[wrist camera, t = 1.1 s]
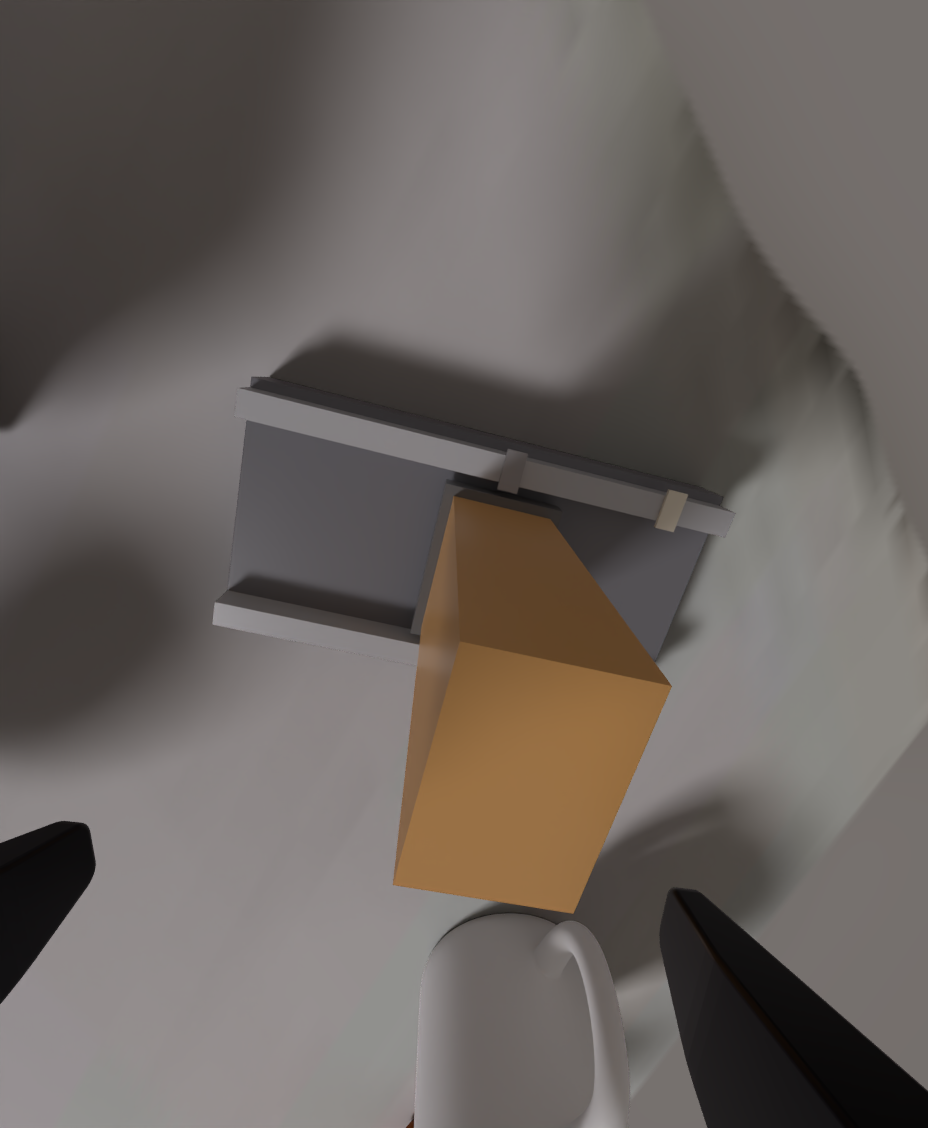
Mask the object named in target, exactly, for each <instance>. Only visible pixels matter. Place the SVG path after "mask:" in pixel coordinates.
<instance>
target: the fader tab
mask: <svg viewBox="0 0 928 1128" xmlns="http://www.w3.org/2000/svg"><path fill="white" fill-rule="evenodd" d="M562 513H563V512H562V510H561V509H560V508H559V507H558V506H556V505H552V504H548V503H543V502H539V501H535V500H531V499H527V498H523V497H519V496H515V495H511V494H507V493H502V492H498V491H494V490H490V489H486V488H482V487H478V486H474V485H470V484H466V483H461V482H457V481H453V480H449V479H446V482H445V486H444V491H443V495H442V499H441V503H440V507H439V511H438V516H437V520H436V524H435V528H434V532H433V536H432V541H431V545H430V549H429V553H428V557H427V562H426V566H425V570H424V574H423V578H422V582H421V587H420V591H419V595H418V599H417V603H416V607H415V612H414V616H413V620H412V625H411V632H410V633H412V634H417V635H420V644H419V653H418V662H417V671H416V680H415V689H414V698H413V707H412V716H411V725H410V735H409V744H408V753H407V762H406V771H405V780H404V789H403V798H402V807H401V816H400V825H399V834H398V843H397V852H396V861H395V870H394V879H393V885H396V886H402V887H409V888H415V889H421V890H428V891H434V892H440V893H446V894H453V895H459V896H465V897H472V898H478V899H484V900H490V901H497V902H503V903H509V904H516V905H522V906H528V907H534V908H541V909H547V910H553V911H559V912H566V913H572V914H574V911H575V909H576V907H577V904H578V902H579V900H580V897H581V895H582V893H583V890H584V888H585V886H586V883H587V881H588V879H589V877H590V874H591V872H592V870H593V867H594V865H595V863H596V860H597V858H598V856H599V853H600V851H601V849H602V847H603V844H604V842H605V840H606V837H607V835H608V833H609V830H610V828H611V826H612V823H613V821H614V819H615V816H616V814H617V812H618V810H619V807H620V805H621V803H622V800H623V798H624V796H625V793H626V791H627V789H628V786H629V784H630V782H631V780H632V777H633V775H634V773H635V770H636V768H637V766H638V763H639V761H640V759H641V756H642V754H643V752H644V749H645V747H646V745H647V743H648V740H649V738H650V736H651V733H652V731H653V729H654V726H655V724H656V722H657V719H658V717H659V715H660V713H661V710H662V708H663V706H664V703H665V701H666V699H667V696H668V694H669V692H670V689H671V687H672V686H671V684H670V683H669V682H668V680H667V679H666V677H665V676H664V675H663V673H662V672H661V671H660V669H659V668H658V666H657V665H656V664H655V662H654V661H653V660H652V658H651V657H650V655H649V654H648V653H647V651H646V650H645V649H644V647H643V646H642V644H641V643H640V642H639V640H638V639H637V638H636V636H635V635H634V633H633V632H632V631H631V629H630V628H629V627H628V625H627V624H626V622H625V621H624V620H623V618H622V617H621V616H620V614H619V613H618V611H617V610H616V609H615V607H614V606H613V605H612V603H611V602H610V600H609V599H608V598H607V596H606V595H605V594H604V592H603V591H602V589H601V588H600V587H599V585H598V584H597V583H596V581H595V580H594V578H593V577H592V576H591V574H590V573H589V572H588V570H587V569H586V567H585V566H584V565H583V563H582V562H581V561H580V559H579V558H578V556H577V555H576V554H575V552H574V551H573V550H572V548H571V547H570V545H569V544H568V543H567V541H566V540H565V539H564V537H563V536H562V534H561V533H560V532H559V530H558V526H559V522H560V519H561V516H562Z"/></svg>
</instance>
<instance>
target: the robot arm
mask: <svg viewBox="0 0 928 1128" xmlns="http://www.w3.org/2000/svg"><path fill="white" fill-rule="evenodd" d="M95 866H96V861H95V855H94V850H93V844H92V839H91V833H90V829H89V827H88V826H87V825H86V824H84V823H79V822H70V821H60V822H56V823H53V824H50V825H48V826H45V827H42V828H40V829H37V830H34V831H31V832H29V833H26V834H23V835H21V836H18V837H15V838H13V839H10V840H7V841H5V842H2V843H0V1004H1V1003H2V1002H3V1000H4V999H5V998H6V997H7V996H8V994H9V993H10V992H11V991H12V989H13V988H14V987H15V986H16V984H17V983H18V982H19V981H20V979H21V978H22V977H23V975H24V974H25V973H26V971H27V970H28V969H29V967H30V966H31V965H32V963H33V962H34V961H35V959H36V958H37V956H38V955H39V954H40V952H41V951H42V949H43V948H44V947H45V945H46V944H47V942H48V941H49V940H50V938H51V937H52V935H53V934H54V933H55V931H56V930H57V928H58V927H59V926H60V924H61V923H62V921H63V920H64V919H65V917H66V916H67V914H68V913H69V912H70V910H71V909H72V908H73V906H74V905H75V903H76V902H77V901H78V899H79V898H80V896H81V895H82V894H83V892H84V891H85V889H86V888H87V887H88V885H89V883H90V882H91V879H92V877H93V875H94V872H95ZM659 936H660V948H661V953H662V957H663V962H664V966H665V970H666V975H667V979H668V984H669V988H670V993H671V997H672V1001H673V1006H674V1010H675V1015H676V1019H677V1024H678V1028H679V1032H680V1037H681V1041H682V1045H683V1049H684V1054H685V1058H686V1061H687V1065H688V1068H689V1072H690V1075H691V1078H692V1082H693V1085H694V1088H695V1091H696V1094H697V1097H698V1100H699V1103H700V1106H701V1110H702V1113H703V1116H704V1119H705V1122H706V1125H707V1128H928V1091H927V1090H926V1089H925V1088H924V1087H923V1086H922V1085H921V1084H919V1083H918V1082H917V1081H916V1080H915V1079H914V1078H913V1077H911V1076H910V1075H909V1074H908V1073H907V1072H906V1071H905V1070H903V1069H902V1068H901V1067H900V1066H898V1064H897V1063H895V1062H894V1061H893V1060H892V1059H891V1058H890V1057H889V1056H887V1055H886V1054H885V1053H884V1052H883V1051H882V1050H881V1049H879V1048H878V1047H877V1046H876V1045H875V1044H874V1043H872V1042H871V1041H870V1040H869V1039H868V1038H867V1037H866V1036H864V1035H863V1034H862V1033H861V1032H860V1031H859V1030H858V1029H856V1028H855V1027H854V1026H853V1025H852V1024H851V1023H850V1022H848V1021H847V1020H846V1019H845V1018H844V1017H843V1016H841V1015H840V1014H839V1013H838V1012H837V1011H836V1010H835V1009H833V1008H832V1007H831V1006H830V1005H829V1004H828V1003H827V1002H826V1001H824V1000H823V999H822V998H821V997H820V996H819V995H817V994H816V993H815V992H814V991H813V990H812V989H811V988H809V987H808V986H807V985H806V984H805V983H804V982H803V981H801V980H800V979H799V978H798V977H797V976H796V975H795V974H793V973H792V972H791V971H790V970H789V969H788V968H786V967H785V966H784V965H783V964H782V963H781V962H780V961H778V960H777V959H776V958H775V957H774V956H773V955H772V954H770V953H769V952H768V951H767V950H766V949H765V948H763V947H762V946H761V945H760V944H759V943H758V942H757V941H756V940H754V939H753V938H752V937H751V936H750V935H749V934H748V933H746V932H745V931H744V930H743V929H742V928H741V927H740V926H738V925H737V924H736V923H735V922H734V921H733V920H732V919H730V918H729V917H728V916H727V915H726V914H725V913H724V912H722V911H721V910H720V909H719V908H718V907H717V906H716V905H714V904H713V903H712V902H711V901H710V900H709V899H708V898H706V897H705V896H704V895H703V894H702V893H700V892H699V891H697V890H693V889H684V888H671V889H670V890H669V892H668V894H667V898H666V903H665V907H664V912H663V916H662V921H661V925H660V934H659Z"/></svg>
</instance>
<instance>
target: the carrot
mask: <svg viewBox="0 0 928 1128" xmlns="http://www.w3.org/2000/svg"><path fill="white" fill-rule="evenodd" d="M406 1128H414V1120H413V1121H411V1122H410V1123H409V1125H408V1126H407V1127H406Z"/></svg>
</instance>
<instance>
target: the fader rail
mask: <svg viewBox="0 0 928 1128" xmlns="http://www.w3.org/2000/svg"><path fill="white" fill-rule="evenodd" d="M234 417H237V418H241V419H245V420H247V421H246V430H245V438H244V447H243V456H242V465H241V474H240V483H239V491H238V500H237V509H236V518H235V527H234V536H233V544H232V553H231V562H230V571H229V580H228V589H227V591H226V592H225V593H224V594H223V595H222V596H221V597H220V598H219V599H218V600H216V601H215V605H214V614H213V624H212V625H217V626H222V627H227V628H232V629H237V630H241V631H246V632H251V633H256V634H261V635H266V636H271V637H276V638H281V639H286V640H290V641H295V642H300V643H305V644H310V645H315V646H320V647H325V648H330V649H334V650H339V651H344V652H349V653H354V654H359V655H364V656H369V657H374V658H379V659H383V660H388V661H393V662H398V663H403V664H408V665H413V666H417V662H418V653H419V644H420V635H417V634H412V633H410V632H411V625H412V620H413V616H414V612H415V607H416V603H417V599H418V595H419V591H420V587H421V582H422V578H423V574H424V570H425V566H426V562H427V557H428V553H429V549H430V545H431V541H432V536H433V532H434V528H435V524H436V520H437V516H438V511H439V507H440V503H441V499H442V495H443V491H444V486H445V482H446V479H449V480H453V481H457V482H461V483H466V484H470V485H474V486H478V487H482V488H486V489H490V490H494V491H498V492H502V493H507V494H511V495H515V496H519V497H523V498H527V499H531V500H535V501H539V502H543V503H548V504H552V505H556V506H558V507H559V508H560V509H561V510H562V512H563V513H562V516H561V519H560V522H559V526H558V530H559V532H560V533H561V534H562V536H563V537H564V539H565V540H566V541H567V543H568V544H569V545H570V547H571V548H572V550H573V551H574V552H575V554H576V555H577V556H578V558H579V559H580V561H581V562H582V563H583V565H584V566H585V567H586V569H587V570H588V572H589V573H590V574H591V576H592V577H593V578H594V580H595V581H596V583H597V584H598V585H599V587H600V588H601V589H602V591H603V592H604V594H605V595H606V596H607V598H608V599H609V600H610V602H611V603H612V605H613V606H614V607H615V609H616V610H617V611H618V613H619V614H620V616H621V617H622V618H623V620H624V621H625V622H626V624H627V625H628V627H629V628H630V629H631V631H632V632H633V633H634V635H635V636H636V638H637V639H638V640H639V642H640V643H641V644H642V646H643V647H644V649H645V650H646V651H647V653H648V654H649V655H650V657H651V658H652V660H653V661H654V662H655V661H656V659H657V656H658V654H659V652H660V649H661V647H662V644H663V642H664V639H665V637H666V635H667V632H668V630H669V627H670V625H671V623H672V620H673V618H674V615H675V613H676V610H677V608H678V606H679V603H680V601H681V598H682V596H683V594H684V591H685V589H686V586H687V584H688V581H689V579H690V577H691V574H692V572H693V569H694V567H695V565H696V562H697V560H698V557H699V555H700V553H701V550H702V548H703V545H704V543H705V540H706V538H707V536H708V534H712V535H717V536H721V537H726V535H727V532H728V530H729V528H730V525H731V523H732V521H733V518H734V516H735V514H736V513H734V512H732V511H730V510H728V509H726V508H723V507H721V506H720V504H721V502H722V499H723V496H720V495H718V494H716V493H713V492H711V491H708V490H706V489H704V488H701V487H697V486H693V485H689V484H685V483H681V482H677V481H673V480H670V479H666V478H662V477H658V476H654V475H650V474H646V473H642V472H638V471H634V470H630V469H626V468H623V467H619V466H615V465H611V464H607V463H603V462H599V461H595V460H591V459H587V458H583V457H579V456H576V455H572V454H568V453H564V452H560V451H556V450H552V449H548V448H544V447H540V446H536V445H532V444H529V443H525V442H521V441H517V440H513V439H509V438H505V437H501V436H497V435H493V434H489V433H485V432H482V431H478V430H474V429H470V428H466V427H462V426H458V425H454V424H450V423H446V422H442V421H438V420H435V419H431V418H427V417H423V416H419V415H415V414H411V413H407V412H403V411H399V410H395V409H391V408H388V407H384V406H380V405H376V404H372V403H368V402H364V401H360V400H356V399H352V398H348V397H344V396H341V395H337V394H333V393H329V392H325V391H321V390H317V389H313V388H309V387H305V386H301V385H297V384H294V383H290V382H286V381H282V380H278V379H274V378H270V377H251V385H250V387H245V388H237V397H236V406H235V416H234Z"/></svg>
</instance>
